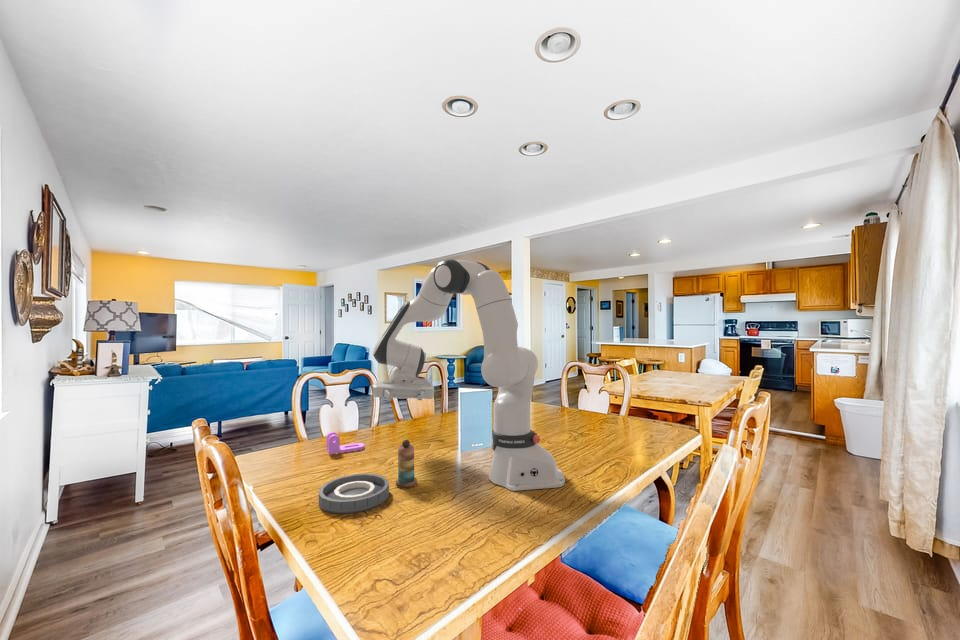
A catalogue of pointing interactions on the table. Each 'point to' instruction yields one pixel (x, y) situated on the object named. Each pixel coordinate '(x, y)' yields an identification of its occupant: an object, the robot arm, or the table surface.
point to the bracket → (335, 447)
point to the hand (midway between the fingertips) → (405, 397)
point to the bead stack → (406, 466)
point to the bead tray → (353, 493)
